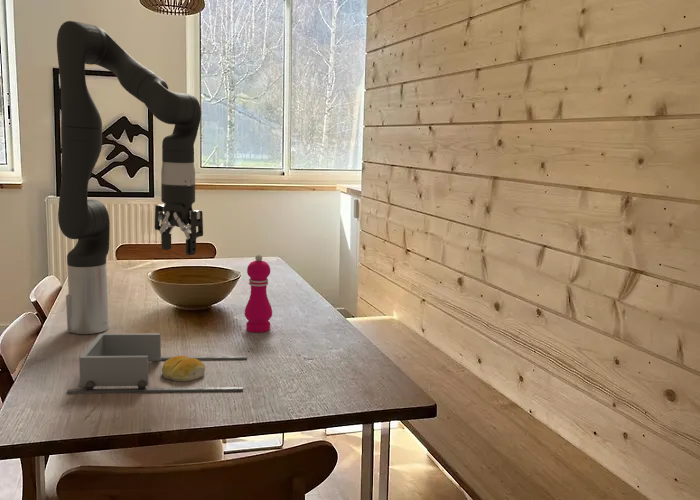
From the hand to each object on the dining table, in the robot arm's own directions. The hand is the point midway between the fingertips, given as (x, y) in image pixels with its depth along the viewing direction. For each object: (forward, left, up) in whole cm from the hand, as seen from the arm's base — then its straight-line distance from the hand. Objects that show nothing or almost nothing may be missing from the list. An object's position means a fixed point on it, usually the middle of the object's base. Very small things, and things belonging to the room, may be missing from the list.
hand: (178, 252), depth 156 cm
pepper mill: (+18, +16, -24) cm, 34 cm away
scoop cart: (-9, -17, -23) cm, 30 cm away
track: (-1, -17, -23) cm, 29 cm away
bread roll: (+3, -17, -24) cm, 30 cm away
